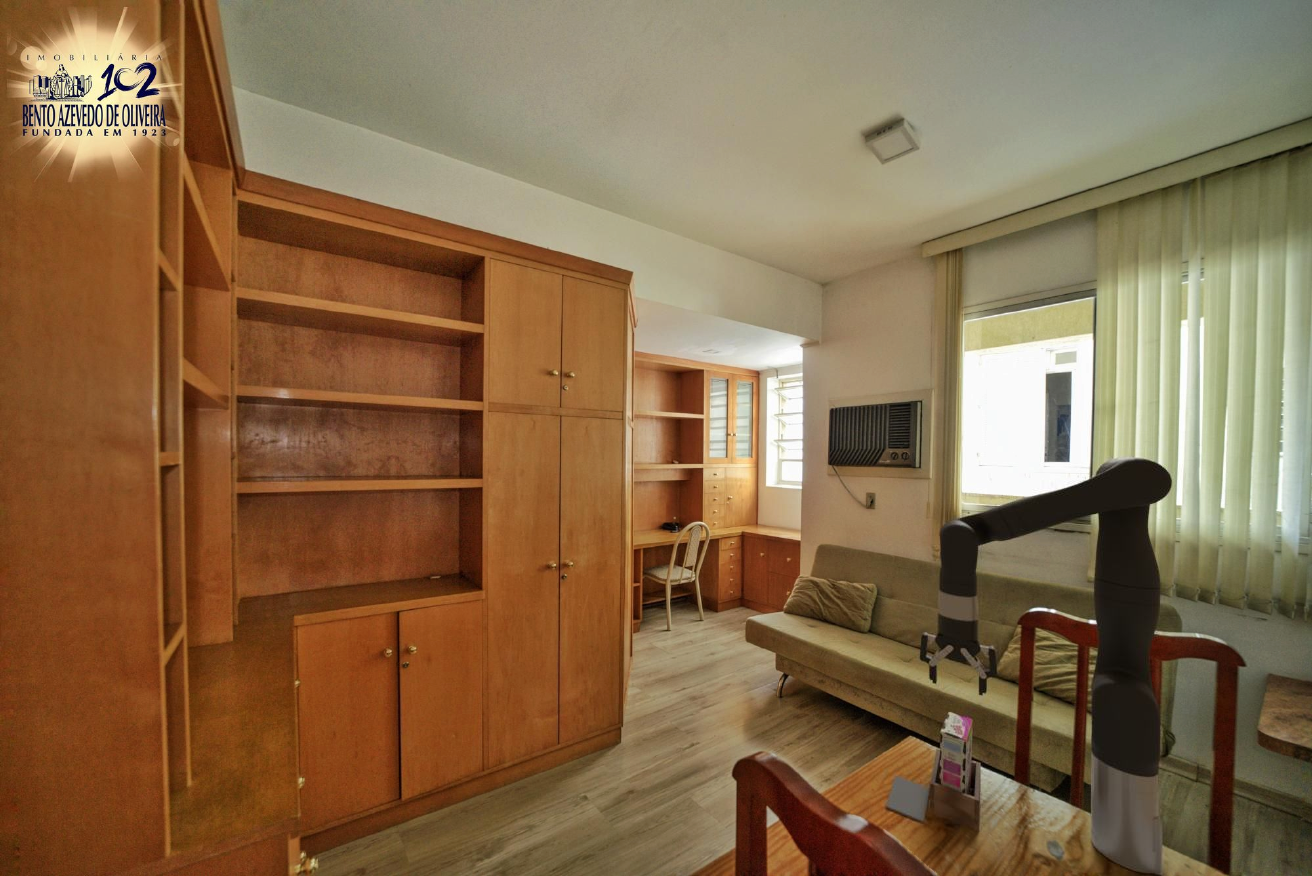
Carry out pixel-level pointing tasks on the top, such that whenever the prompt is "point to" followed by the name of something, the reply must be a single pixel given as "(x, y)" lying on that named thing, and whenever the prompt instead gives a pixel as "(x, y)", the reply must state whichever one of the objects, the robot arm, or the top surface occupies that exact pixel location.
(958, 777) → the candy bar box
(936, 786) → the walnut sleeve
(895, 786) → the grey mat
